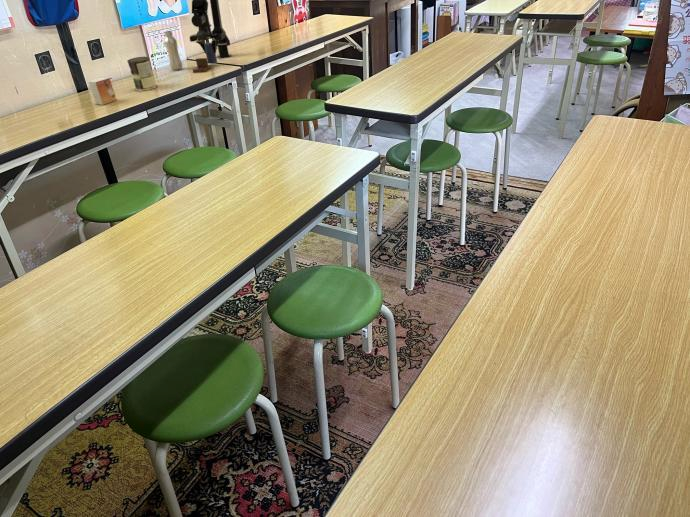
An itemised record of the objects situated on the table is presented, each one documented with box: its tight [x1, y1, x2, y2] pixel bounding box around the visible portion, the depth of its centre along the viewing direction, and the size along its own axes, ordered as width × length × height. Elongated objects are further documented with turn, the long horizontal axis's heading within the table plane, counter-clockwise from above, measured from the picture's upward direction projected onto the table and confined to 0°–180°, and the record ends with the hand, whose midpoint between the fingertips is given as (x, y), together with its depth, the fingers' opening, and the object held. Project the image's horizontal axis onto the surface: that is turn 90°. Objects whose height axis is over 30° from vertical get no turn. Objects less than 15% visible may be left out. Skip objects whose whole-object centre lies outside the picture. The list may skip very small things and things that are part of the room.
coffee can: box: [126, 56, 157, 92], centre depth 258 cm, size 10×10×14 cm
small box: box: [88, 77, 117, 106], centre depth 242 cm, size 8×6×10 cm
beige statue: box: [164, 30, 183, 71], centre depth 285 cm, size 6×7×20 cm
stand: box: [192, 57, 212, 73], centre depth 283 cm, size 8×7×6 cm
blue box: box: [204, 41, 218, 64], centre depth 289 cm, size 11×5×11 cm
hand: (210, 53), depth 289 cm, fingers closed on blue box, 5 cm apart
